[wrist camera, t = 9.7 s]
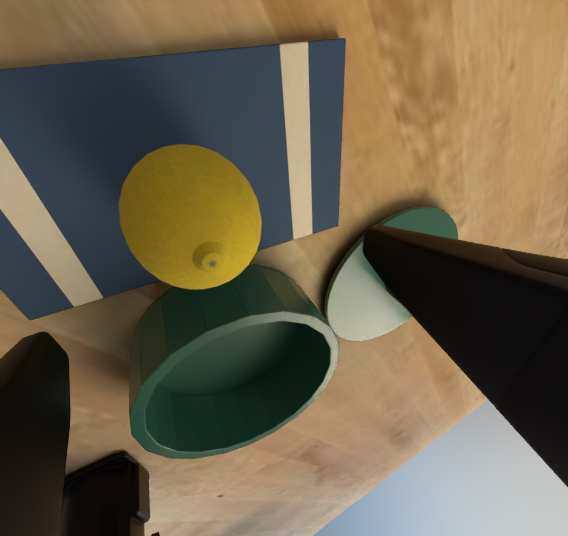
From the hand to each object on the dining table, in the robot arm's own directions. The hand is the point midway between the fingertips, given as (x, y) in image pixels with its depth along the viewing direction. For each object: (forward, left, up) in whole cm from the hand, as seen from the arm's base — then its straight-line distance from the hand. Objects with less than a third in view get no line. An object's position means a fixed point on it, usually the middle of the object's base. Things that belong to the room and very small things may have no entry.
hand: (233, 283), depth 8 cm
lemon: (0, 0, -10) cm, 10 cm away
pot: (0, -14, -10) cm, 17 cm away
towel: (0, 0, -10) cm, 10 cm away
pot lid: (+16, -14, -9) cm, 23 cm away
